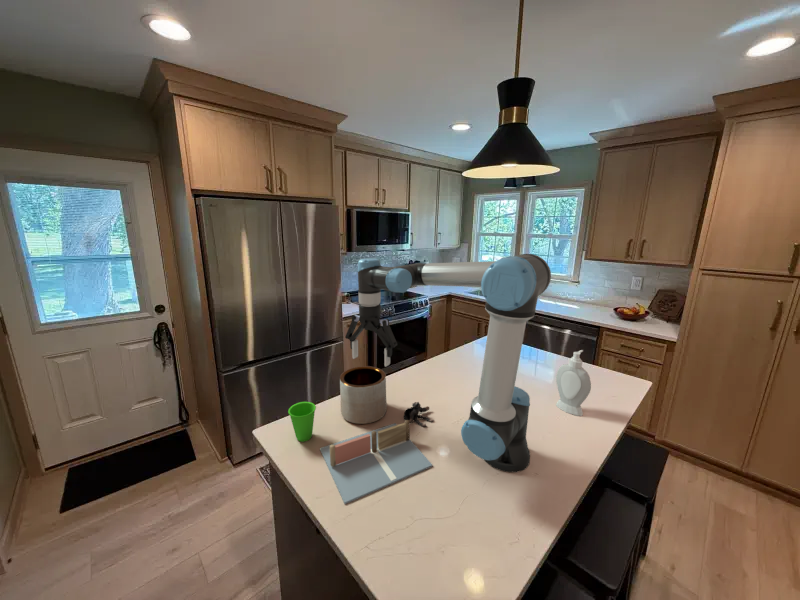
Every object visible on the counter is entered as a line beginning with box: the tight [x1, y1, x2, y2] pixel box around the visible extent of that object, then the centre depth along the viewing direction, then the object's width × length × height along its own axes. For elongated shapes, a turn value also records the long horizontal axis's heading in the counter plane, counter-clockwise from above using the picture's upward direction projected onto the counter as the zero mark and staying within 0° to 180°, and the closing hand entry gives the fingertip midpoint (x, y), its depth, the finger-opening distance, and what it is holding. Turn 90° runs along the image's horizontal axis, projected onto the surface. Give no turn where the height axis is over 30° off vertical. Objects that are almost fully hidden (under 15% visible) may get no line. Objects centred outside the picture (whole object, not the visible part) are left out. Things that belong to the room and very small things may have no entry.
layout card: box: [319, 422, 433, 505], centre depth 101 cm, size 24×28×1 cm
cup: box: [287, 401, 317, 443], centre depth 110 cm, size 9×9×11 cm
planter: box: [339, 365, 388, 425], centre depth 124 cm, size 18×18×16 cm
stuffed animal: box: [403, 401, 435, 427], centre depth 124 cm, size 12×10×12 cm
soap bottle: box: [555, 349, 592, 417], centre depth 125 cm, size 13×8×24 cm, turn 39°
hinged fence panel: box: [329, 434, 371, 467], centre depth 99 cm, size 13×2×6 cm, turn 119°
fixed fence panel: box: [371, 420, 411, 453], centre depth 106 cm, size 2×14×8 cm, turn 119°
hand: (370, 361), depth 115 cm, fingers open, 13 cm apart
